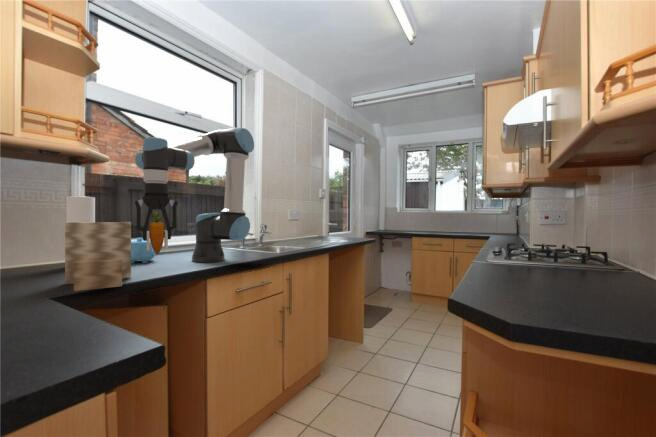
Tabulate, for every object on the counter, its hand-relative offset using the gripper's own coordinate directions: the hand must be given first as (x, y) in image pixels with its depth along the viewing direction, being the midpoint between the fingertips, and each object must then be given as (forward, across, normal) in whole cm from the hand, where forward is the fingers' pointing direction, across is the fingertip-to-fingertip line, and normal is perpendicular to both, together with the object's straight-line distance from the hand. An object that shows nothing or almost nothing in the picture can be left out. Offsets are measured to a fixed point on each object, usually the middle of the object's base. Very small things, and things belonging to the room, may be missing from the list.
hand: (157, 249), depth 110 cm
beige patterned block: (+10, +17, -2) cm, 20 cm away
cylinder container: (+11, +24, -44) cm, 51 cm away
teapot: (+12, +3, -46) cm, 47 cm away
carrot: (+2, 0, 0) cm, 2 cm away
